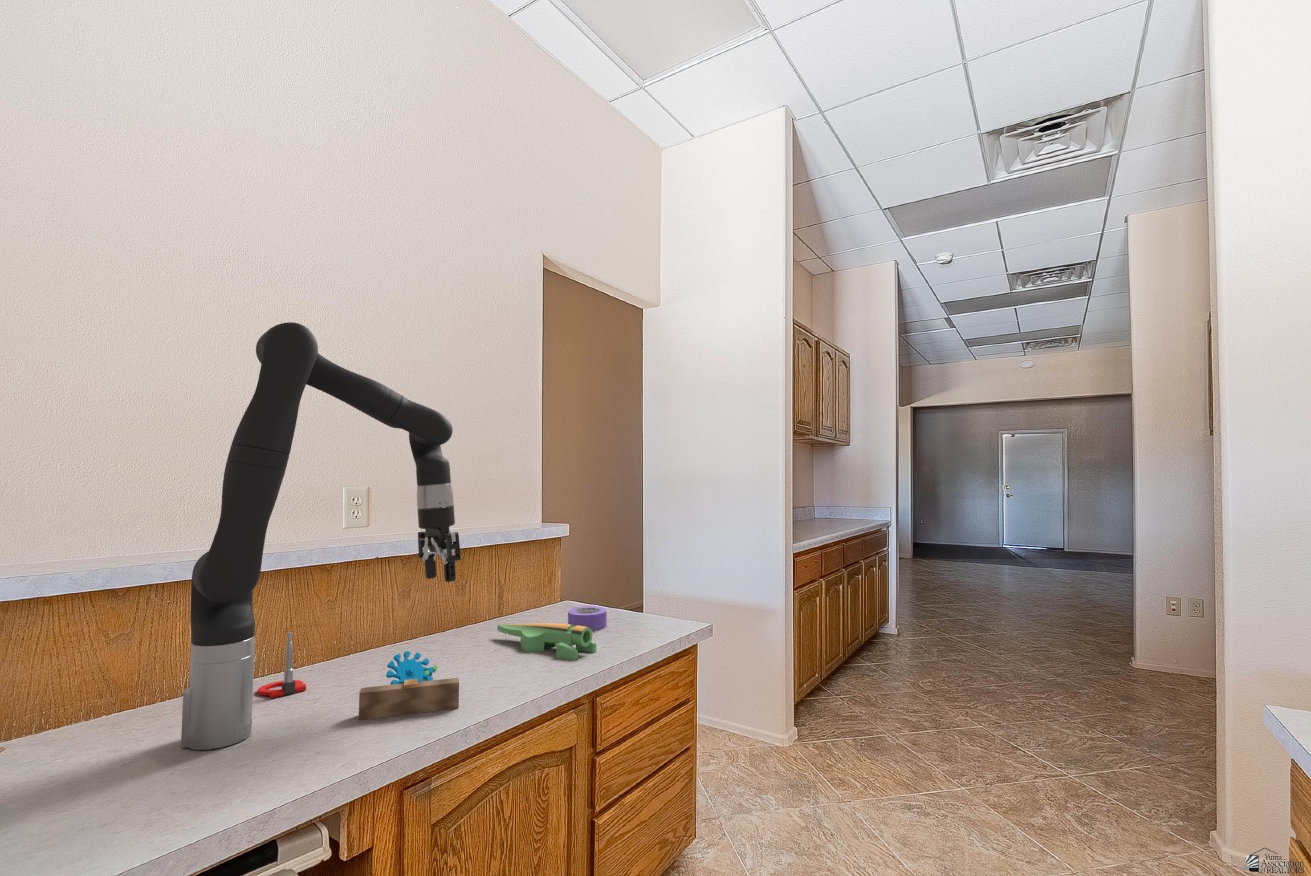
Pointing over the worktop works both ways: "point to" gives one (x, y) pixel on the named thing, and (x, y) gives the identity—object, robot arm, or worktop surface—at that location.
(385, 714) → the rail
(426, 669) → the gear
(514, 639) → the worktop surface
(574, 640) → the green elongated piece
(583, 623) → the tape roll
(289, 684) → the tow hook
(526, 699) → the worktop surface
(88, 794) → the worktop surface
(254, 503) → the robot arm
